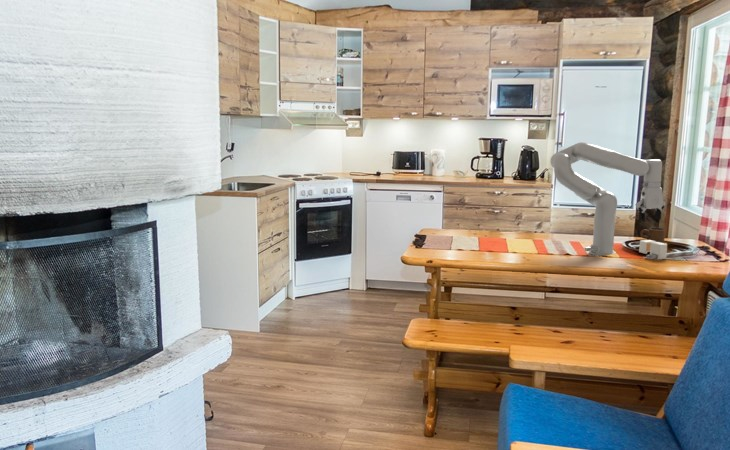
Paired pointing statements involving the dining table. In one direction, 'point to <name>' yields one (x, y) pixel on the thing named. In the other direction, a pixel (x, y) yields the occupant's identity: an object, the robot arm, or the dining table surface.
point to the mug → (654, 234)
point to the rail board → (671, 255)
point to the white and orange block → (645, 246)
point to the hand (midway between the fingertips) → (649, 219)
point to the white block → (658, 249)
